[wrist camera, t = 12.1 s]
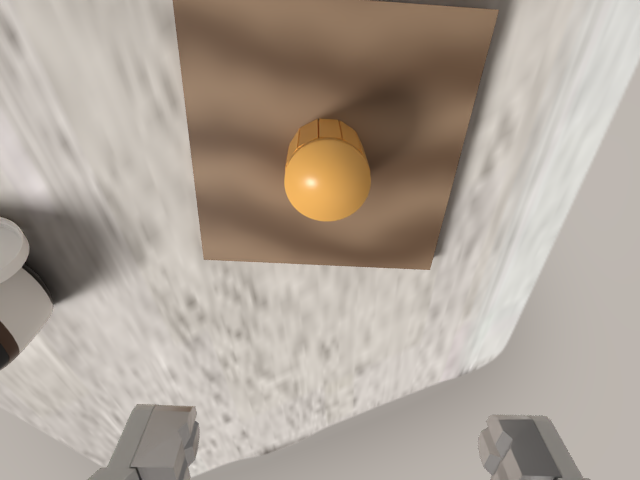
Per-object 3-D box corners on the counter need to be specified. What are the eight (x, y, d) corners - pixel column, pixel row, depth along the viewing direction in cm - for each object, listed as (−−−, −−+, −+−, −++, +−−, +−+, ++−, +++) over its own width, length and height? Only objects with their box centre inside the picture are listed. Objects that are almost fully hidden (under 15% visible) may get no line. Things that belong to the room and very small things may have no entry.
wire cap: (289, 116, 27) (284, 138, 23) (367, 121, 27) (376, 144, 23) (288, 188, 30) (283, 219, 26) (358, 191, 30) (365, 223, 26)
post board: (178, -14, 24) (149, -16, 20) (489, 9, 25) (524, 11, 21) (207, 250, 35) (193, 284, 31) (425, 260, 36) (440, 295, 32)
